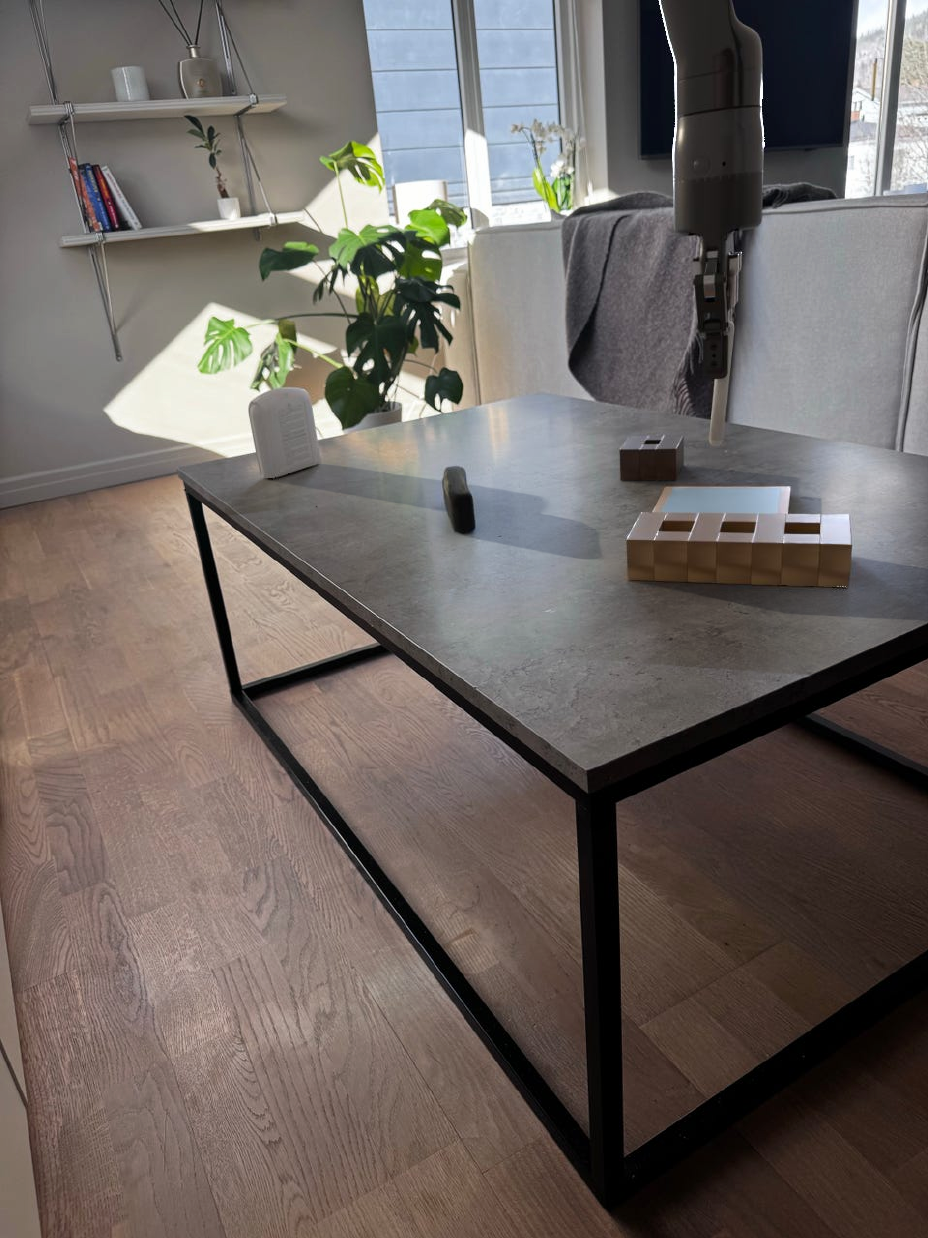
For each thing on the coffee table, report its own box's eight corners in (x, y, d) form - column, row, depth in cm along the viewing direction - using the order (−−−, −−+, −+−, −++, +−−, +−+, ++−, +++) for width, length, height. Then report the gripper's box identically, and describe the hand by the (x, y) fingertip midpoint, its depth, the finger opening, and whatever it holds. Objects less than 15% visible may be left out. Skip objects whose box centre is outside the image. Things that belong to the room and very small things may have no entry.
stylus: (722, 444, 87) (735, 320, 82) (721, 448, 86) (734, 321, 81) (709, 443, 87) (721, 319, 82) (707, 447, 86) (719, 321, 81)
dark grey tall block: (476, 492, 97) (460, 456, 111) (448, 495, 97) (436, 460, 110) (480, 534, 99) (464, 494, 113) (453, 538, 99) (440, 498, 113)
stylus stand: (683, 464, 116) (683, 434, 114) (676, 480, 110) (676, 448, 108) (630, 465, 118) (629, 435, 116) (620, 480, 112) (619, 449, 111)
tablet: (790, 493, 100) (790, 485, 100) (784, 549, 85) (785, 539, 85) (665, 493, 105) (665, 485, 105) (638, 546, 90) (638, 536, 90)
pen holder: (846, 555, 82) (849, 514, 81) (848, 588, 76) (852, 544, 74) (642, 549, 89) (641, 511, 87) (627, 580, 82) (626, 539, 81)
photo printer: (308, 460, 140) (294, 381, 135) (326, 463, 137) (312, 382, 132) (256, 478, 133) (239, 395, 128) (274, 481, 130) (258, 396, 125)
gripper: (757, 165, 70) (752, 388, 77) (767, 167, 81) (762, 361, 88) (661, 178, 72) (665, 392, 79) (684, 178, 84) (685, 365, 91)
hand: (716, 375), depth 84 cm, fingers closed on stylus, 1 cm apart
